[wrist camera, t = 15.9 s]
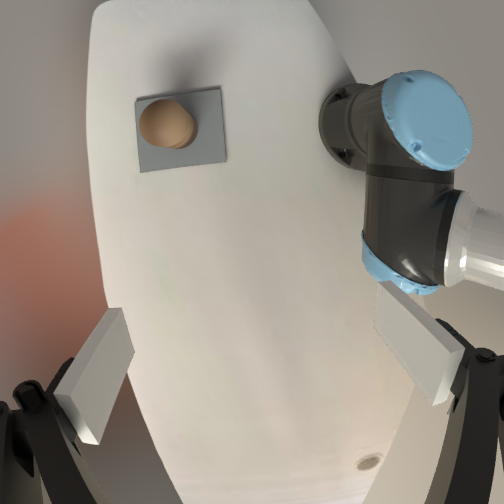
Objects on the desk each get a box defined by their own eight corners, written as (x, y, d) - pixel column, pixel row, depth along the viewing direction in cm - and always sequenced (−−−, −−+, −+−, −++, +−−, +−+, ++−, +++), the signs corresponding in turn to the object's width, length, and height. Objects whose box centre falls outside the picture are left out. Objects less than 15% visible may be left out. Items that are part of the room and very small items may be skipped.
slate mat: (220, 90, 44) (220, 89, 43) (226, 162, 48) (226, 162, 47) (135, 102, 43) (134, 102, 43) (141, 172, 47) (140, 172, 46)
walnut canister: (196, 110, 44) (185, 95, 33) (199, 146, 46) (188, 143, 34) (159, 115, 44) (137, 103, 32) (162, 151, 46) (140, 150, 34)
